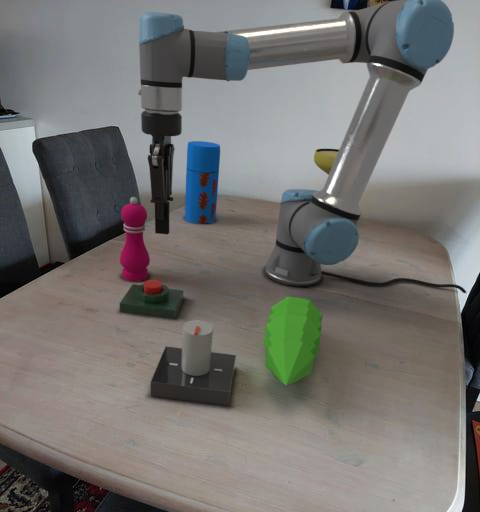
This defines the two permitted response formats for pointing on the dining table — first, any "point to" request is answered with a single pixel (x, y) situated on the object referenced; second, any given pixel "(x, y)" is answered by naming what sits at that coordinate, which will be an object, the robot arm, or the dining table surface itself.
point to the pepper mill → (134, 242)
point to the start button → (152, 287)
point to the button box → (152, 302)
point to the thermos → (202, 181)
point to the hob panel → (193, 379)
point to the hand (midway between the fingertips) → (162, 232)
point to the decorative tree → (292, 339)
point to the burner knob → (196, 347)
